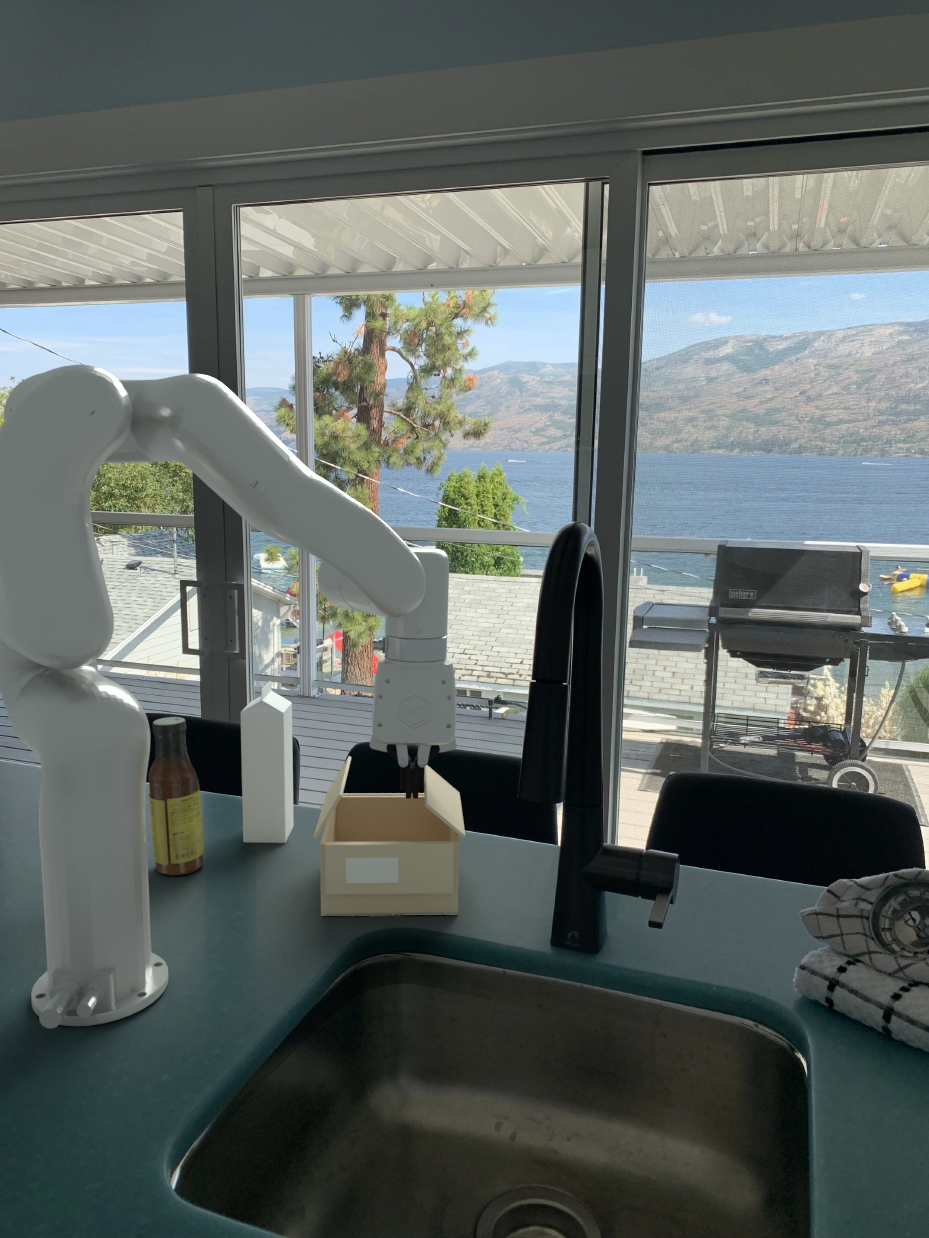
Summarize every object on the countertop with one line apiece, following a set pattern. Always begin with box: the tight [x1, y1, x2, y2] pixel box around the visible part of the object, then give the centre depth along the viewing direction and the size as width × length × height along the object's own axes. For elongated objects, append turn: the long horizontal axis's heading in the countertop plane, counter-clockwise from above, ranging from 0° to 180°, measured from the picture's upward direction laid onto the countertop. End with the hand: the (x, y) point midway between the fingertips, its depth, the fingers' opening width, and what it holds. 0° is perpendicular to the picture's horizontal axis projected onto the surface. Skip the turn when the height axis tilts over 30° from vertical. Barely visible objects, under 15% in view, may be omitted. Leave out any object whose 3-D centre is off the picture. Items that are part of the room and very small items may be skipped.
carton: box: [319, 792, 460, 918], centre depth 113 cm, size 17×16×9 cm
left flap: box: [313, 755, 352, 840], centre depth 112 cm, size 15×6×1 cm
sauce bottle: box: [148, 716, 205, 877], centre depth 117 cm, size 7×6×20 cm
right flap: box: [423, 764, 466, 839], centre depth 113 cm, size 15×6×1 cm
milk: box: [240, 680, 295, 844], centre depth 128 cm, size 6×6×22 cm
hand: (411, 794), depth 112 cm, fingers closed
